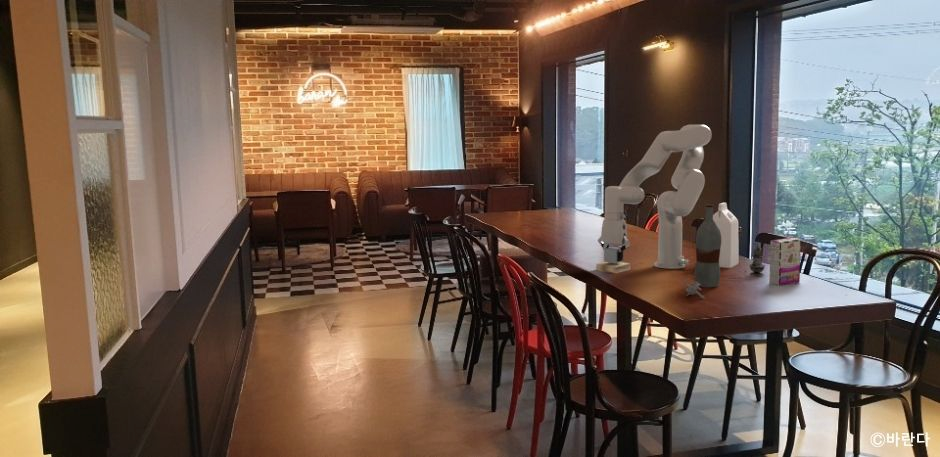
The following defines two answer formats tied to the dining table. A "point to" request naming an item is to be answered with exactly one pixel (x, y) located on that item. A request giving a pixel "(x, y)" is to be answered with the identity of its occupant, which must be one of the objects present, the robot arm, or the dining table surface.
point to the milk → (727, 236)
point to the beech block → (613, 267)
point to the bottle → (708, 251)
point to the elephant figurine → (693, 289)
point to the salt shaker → (757, 263)
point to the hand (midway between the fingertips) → (613, 259)
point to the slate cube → (611, 255)
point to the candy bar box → (785, 261)
